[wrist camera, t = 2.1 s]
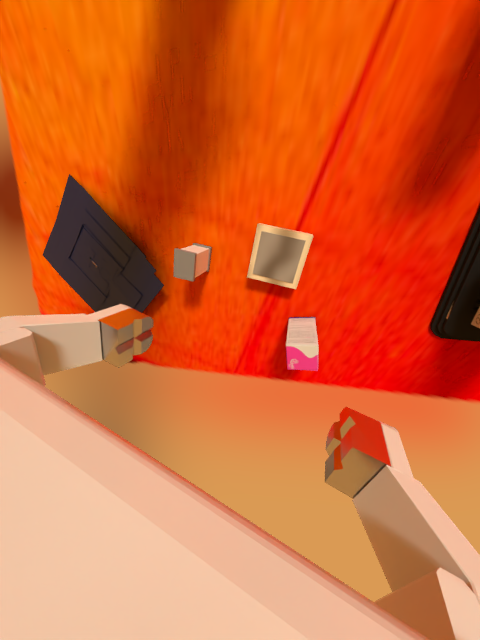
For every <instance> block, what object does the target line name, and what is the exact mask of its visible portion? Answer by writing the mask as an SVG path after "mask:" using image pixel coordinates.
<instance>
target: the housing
mask: <svg viewBox="0 0 480 640" xmlns="http://www.w3.org/2000/svg"><path fill="white" fill-rule="evenodd" d="M211 250H212V247H210V246H205V245H201V244H197V243H193V245H192V246H189V247H186V248H182V249H178V248H175V249H174V277H177V278H181V279H185V280H189V281H195V278H196V277H198V276H199V275H201V274H202V273H204V272H205V271H209V269H210V260H211Z"/></svg>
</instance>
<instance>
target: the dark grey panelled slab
mask: <svg viewBox="0 0 480 640" xmlns="http://www.w3.org/2000/svg"><path fill="white" fill-rule="evenodd" d="M43 256H44V257H45V258H46V259H47V260H48V261H49V263H50V264H51V265H52V267H53V268H54V269H55V270H56V271H57V272H58V273H59V275H60V276H61V277H62V278H63V279H64V280H65V281H66V282H67V283H68V284H69V285H70V286H71V287H72V288H73V289H74V290H75V291H76V292H77V293H78V294H79V295H80V296H81V298H82V299H83V300H84V301H85V302H86V303H87V304H88V305H89V306H90V307H91V308H92V309H93V310H94V311H95V312H98V311H101V310H104V309H107V308H110V307H113V306H116V305H119V304H123V305H127V306H129V307H131V308H133V309H135V310H137V311H139V312H141V313H142V312H143V311H144V310H145V308H146V307H147V306H148V305H149V304H150V302H151V301H152V300H153V299H154V297H155V296H156V295H157V294H158V292H159V291H160V290H161V289H162V287H163V286H164V285H163V284H162V283H161V282H160V280H159V279H158V278H157V277H156V276H155V275H154V273H155V271H156V270H155V269H154V267H153V266H152V265H151V264H150V263H149V262H148V261H147V260H146V256H145V255H144V254H143V253H142V252H141V250H140V249H139V248H138V247H137V246H136V245H135V244H134V243H133V242H132V241H131V240H130V239H129V238H128V237H127V235H126V234H125V233H124V232H123V231H122V230H121V229H120V228H119V227H118V226H117V225H116V223H115V222H114V221H113V220H112V219H111V218H110V217H109V216H108V215H107V214H106V213H105V212H104V210H103V209H102V208H101V207H100V206H99V205H98V204H97V203H96V202H95V201H94V200H93V198H92V197H91V196H90V195H89V194H88V193H87V191H86V190H85V189H84V188H83V187H82V186H81V185H79V184H78V182H77V181H76V180H75V179H74V178H73V177H72V176H71V175H70V174H69V177H68V180H67V184H66V187H65V191H64V194H63V198H62V201H61V205H60V208H59V212H58V215H57V219H56V222H55V225H54V227H53V230H52V232H51V235H50V237H49V240H48V242H47V245H46V248H45V250H44V253H43Z"/></svg>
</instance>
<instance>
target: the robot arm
mask: <svg viewBox="0 0 480 640" xmlns="http://www.w3.org/2000/svg"><path fill="white" fill-rule="evenodd" d="M152 327H153V319H152V318H151V317H149V316H147V315H145V314H143V313H141V312H139V311H137V310H135V309H133V308H131V307H129V306H127V305H123V304H119V305H116V306H113V307H110V308H107V309H104V310H101V311H98V312H95V313H92V314H89V315H86V314H61V315H31V316H6V317H2V318H0V640H480V555H479V554H478V553H477V552H476V550H475V549H474V548H473V547H472V545H471V544H470V543H469V542H468V540H467V539H466V538H465V537H464V536H463V534H462V533H461V532H460V531H459V529H458V528H457V527H456V526H455V525H454V523H453V522H452V521H451V520H450V518H449V517H448V516H447V515H446V513H445V512H444V511H443V510H442V508H441V507H440V506H439V505H438V504H437V502H436V501H435V500H434V499H433V497H432V496H431V495H430V494H429V492H428V491H427V490H426V489H425V487H423V485H422V484H421V483H420V481H418V480H416V479H414V478H413V475H412V472H411V469H410V466H409V463H408V460H407V457H406V454H405V451H404V448H403V445H402V442H401V439H400V436H399V433H398V431H397V430H396V428H394V427H392V426H389V425H387V424H385V423H382V422H380V421H376V420H374V419H372V418H370V417H367V416H365V415H363V414H361V413H359V412H357V411H354V410H352V409H350V408H348V407H345V408H344V409H343V410H342V412H341V413H340V421H339V422H335V423H334V424H333V425H332V427H331V429H330V431H329V433H328V436H327V441H326V451H327V453H328V455H329V458H328V459H327V460H326V462H325V482H326V483H328V484H329V485H331V486H332V487H334V488H336V489H337V490H339V491H341V492H343V493H344V494H346V495H348V496H349V497H351V498H353V502H354V505H355V507H356V509H357V512H358V514H359V516H360V519H361V521H362V523H363V526H364V528H365V530H366V533H367V535H368V537H369V539H370V542H371V544H372V546H373V548H374V551H375V553H376V556H377V558H378V560H379V562H380V565H381V567H382V569H383V572H384V574H385V576H386V579H387V581H388V583H389V585H390V588H391V590H392V593H390V594H388V595H386V596H384V597H382V598H380V599H378V600H377V601H375V602H372V601H371V600H369V599H368V598H366V597H365V596H363V595H362V594H360V593H359V592H357V591H356V590H354V589H353V588H351V587H349V586H348V585H346V584H345V583H344V582H342V581H340V580H339V579H337V578H336V577H334V576H333V575H331V574H330V573H328V572H327V571H325V570H324V569H322V568H321V567H319V566H318V565H316V564H314V563H313V562H311V561H310V560H308V559H307V558H305V557H304V556H302V555H301V554H299V553H298V552H296V551H294V550H293V549H292V548H290V547H289V546H287V545H285V544H284V543H282V542H281V541H279V540H278V539H276V538H275V537H273V536H272V535H270V534H269V533H267V532H266V531H264V530H263V529H261V528H260V527H258V526H257V525H255V524H253V523H252V522H250V521H249V520H247V519H246V518H244V517H243V516H241V515H240V514H238V513H237V512H235V511H234V510H232V509H231V508H229V507H228V506H226V505H224V504H223V503H221V502H220V501H218V500H217V499H215V498H214V497H212V496H211V495H209V494H208V493H206V492H205V491H203V490H202V489H200V488H199V487H197V486H195V485H194V484H192V483H191V482H189V481H188V480H186V479H185V478H183V477H182V476H180V475H179V474H177V473H176V472H174V471H173V470H171V469H170V468H168V467H167V466H165V465H163V464H162V463H160V462H159V461H157V460H156V459H154V458H153V457H151V456H150V455H148V454H147V453H145V452H143V451H142V450H141V449H139V448H138V447H136V446H134V445H133V444H131V443H130V442H128V441H127V440H125V439H124V438H122V437H121V436H119V435H118V434H116V433H114V432H113V431H111V430H110V429H108V428H107V427H105V426H104V425H102V424H101V423H99V422H98V421H96V420H95V419H93V418H91V417H90V416H89V415H87V414H86V413H84V412H82V411H81V410H79V409H78V408H76V407H74V406H73V405H72V404H70V403H69V402H67V401H66V400H64V399H62V398H61V397H60V396H58V395H57V394H55V393H53V392H52V391H50V390H49V389H47V388H46V387H45V380H44V376H43V375H47V374H51V373H55V372H59V371H63V370H67V369H71V368H75V367H79V366H83V365H87V364H90V363H95V362H99V361H102V359H103V360H105V361H106V362H108V363H110V364H112V365H114V366H116V367H118V368H119V367H121V366H123V365H124V364H126V363H128V362H129V361H131V360H133V357H134V355H139V354H142V353H143V352H145V351H146V350H147V349H148V348H149V347H150V345H151V343H152V339H153V335H152V333H151V330H150V329H151V328H152Z"/></svg>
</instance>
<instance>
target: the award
mask: <svg viewBox="0 0 480 640" xmlns="http://www.w3.org/2000/svg"><path fill="white" fill-rule="evenodd" d="M431 330H432V332H433V333H434V334H435V335H436V336H438V337H440V338H446V339H457V340H469V341H480V208H479V210H478V212H477V215H476V217H475V219H474V222H473V224H472V227H471V229H470V231H469V234H468V236H467V238H466V241H465V243H464V246H463V248H462V250H461V253H460V255H459V257H458V260H457V262H456V265H455V267H454V269H453V272H452V274H451V277H450V279H449V281H448V284H447V286H446V288H445V291H444V293H443V296H442V298H441V300H440V303H439V305H438V307H437V310H436V312H435V315H434V317H433V319H432V322H431Z"/></svg>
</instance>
